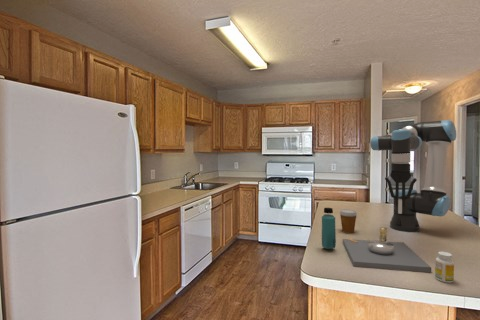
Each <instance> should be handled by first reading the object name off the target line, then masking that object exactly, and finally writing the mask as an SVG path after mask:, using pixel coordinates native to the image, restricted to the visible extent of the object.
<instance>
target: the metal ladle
mask: <svg viewBox="0 0 480 320" xmlns="http://www.w3.org/2000/svg"><path fill="white" fill-rule="evenodd" d="M387 228H388V227H383V226H382V227H381V226H380V227H379V239H372V240H371V241H369V242H368V249H369V250H370V251H371V252H373V253H376V254H381V255H391V254H393V253H394V245H393V244H392V243H389V242H390V241H388V242H386V241H387V240H388V239H387V238H388V237H387V236H388V234H387V232H388V231H387Z"/></svg>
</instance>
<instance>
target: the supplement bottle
mask: <svg viewBox="0 0 480 320" xmlns="http://www.w3.org/2000/svg"><path fill="white" fill-rule="evenodd" d="M452 259H453V254H452V253H450V252H446V251H438V252H437V257H436V258H435V262H434V264H435V268H434V269H435V272H434V276H435V279H436V280H438V281H440V282H442V283H447V284H450V283H454V281H455V279H454V278H455V262H454V260H452Z"/></svg>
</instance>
